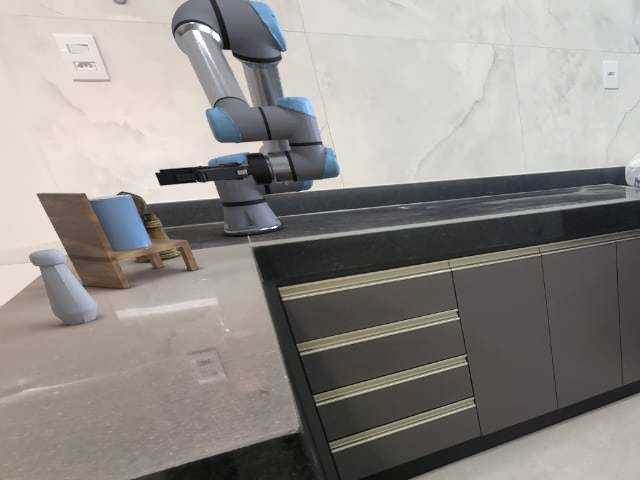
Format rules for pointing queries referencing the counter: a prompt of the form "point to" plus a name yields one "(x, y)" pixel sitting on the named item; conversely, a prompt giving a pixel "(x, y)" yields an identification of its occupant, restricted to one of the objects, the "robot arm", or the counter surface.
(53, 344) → the counter surface
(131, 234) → the blue cup
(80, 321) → the salt shaker
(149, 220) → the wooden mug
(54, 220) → the wooden chair
